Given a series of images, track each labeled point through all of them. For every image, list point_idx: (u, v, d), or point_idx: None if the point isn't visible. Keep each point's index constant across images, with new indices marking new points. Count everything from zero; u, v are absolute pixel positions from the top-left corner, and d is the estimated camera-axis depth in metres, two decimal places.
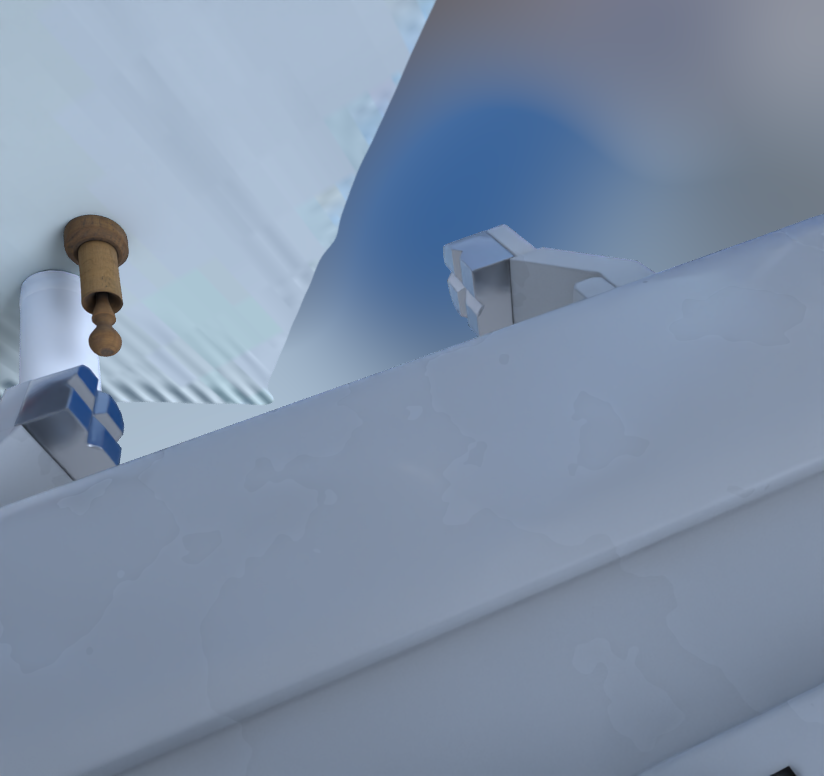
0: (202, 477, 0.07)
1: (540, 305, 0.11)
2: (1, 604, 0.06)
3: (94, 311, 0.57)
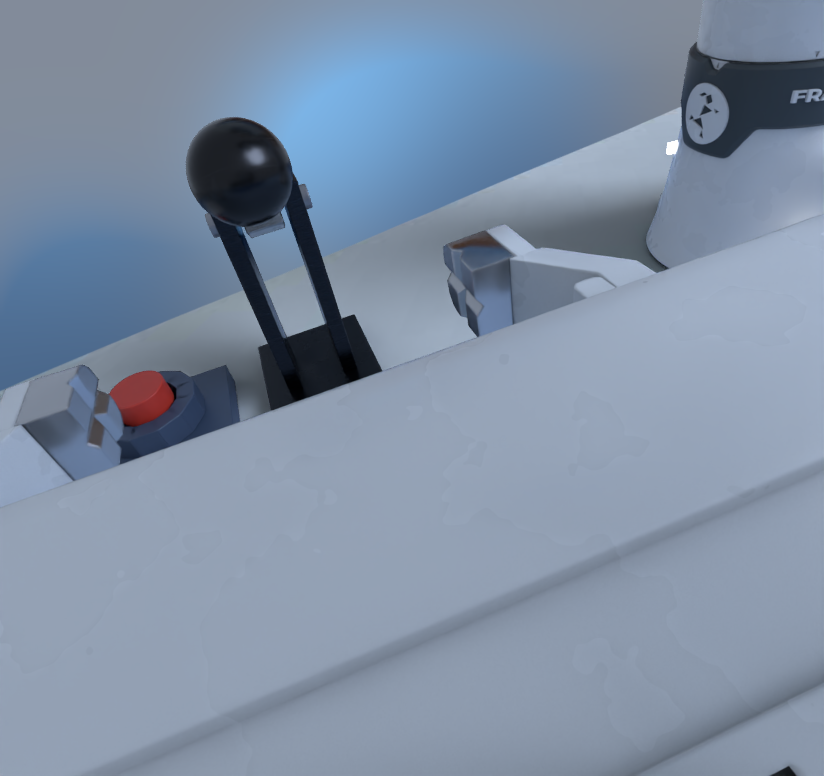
0: (202, 477, 0.07)
1: (540, 305, 0.11)
2: (1, 604, 0.06)
3: None
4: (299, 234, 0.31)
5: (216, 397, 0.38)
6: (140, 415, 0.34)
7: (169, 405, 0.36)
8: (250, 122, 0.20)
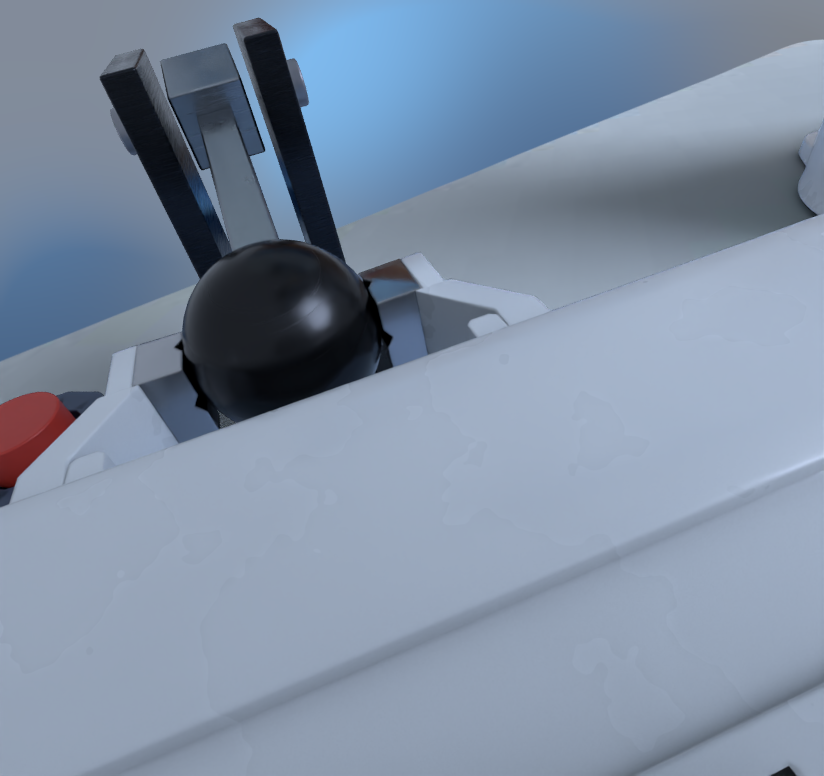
0: (202, 477, 0.07)
1: (448, 337, 0.11)
2: (1, 604, 0.06)
3: None
4: (283, 146, 0.17)
5: None
6: (14, 470, 0.20)
7: None
8: (329, 305, 0.10)
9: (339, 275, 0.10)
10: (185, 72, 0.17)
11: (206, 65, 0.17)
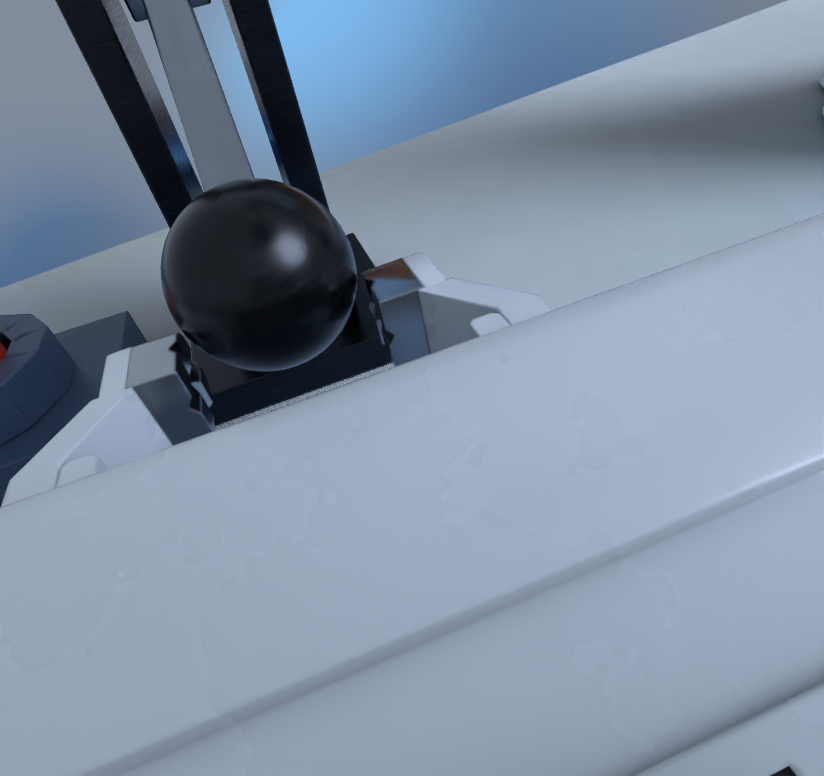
0: (202, 477, 0.07)
1: (450, 337, 0.11)
2: (1, 604, 0.06)
3: None
4: None
5: (95, 363, 0.21)
6: None
7: None
8: (313, 268, 0.10)
9: (321, 231, 0.10)
10: None
11: None
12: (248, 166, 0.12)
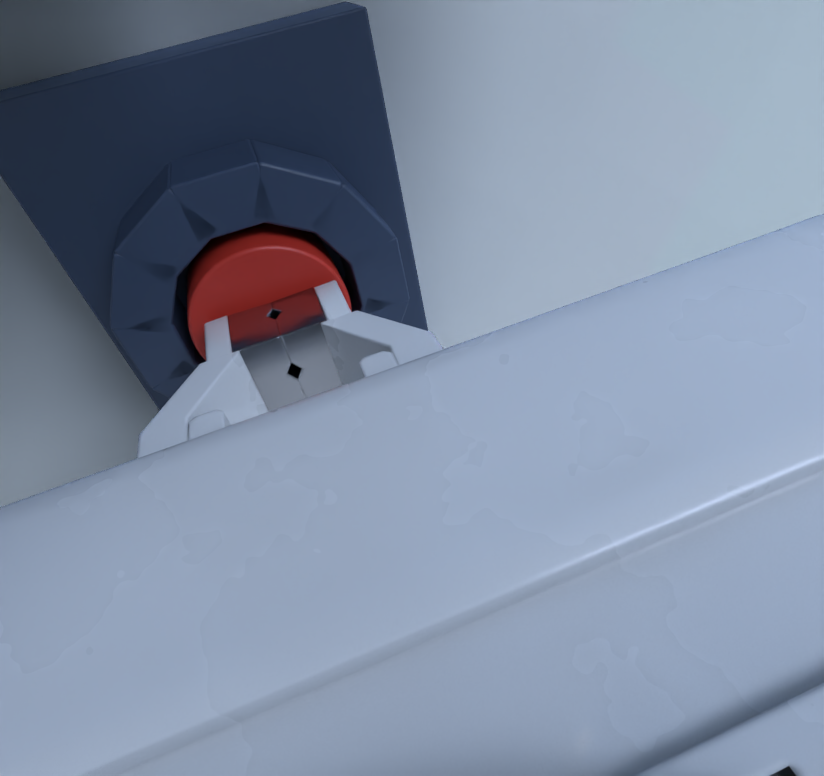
0: (202, 477, 0.07)
1: (356, 370, 0.11)
2: (1, 604, 0.06)
3: None
4: None
5: (172, 114, 0.11)
6: None
7: None
8: None
9: None
10: None
11: None
12: None
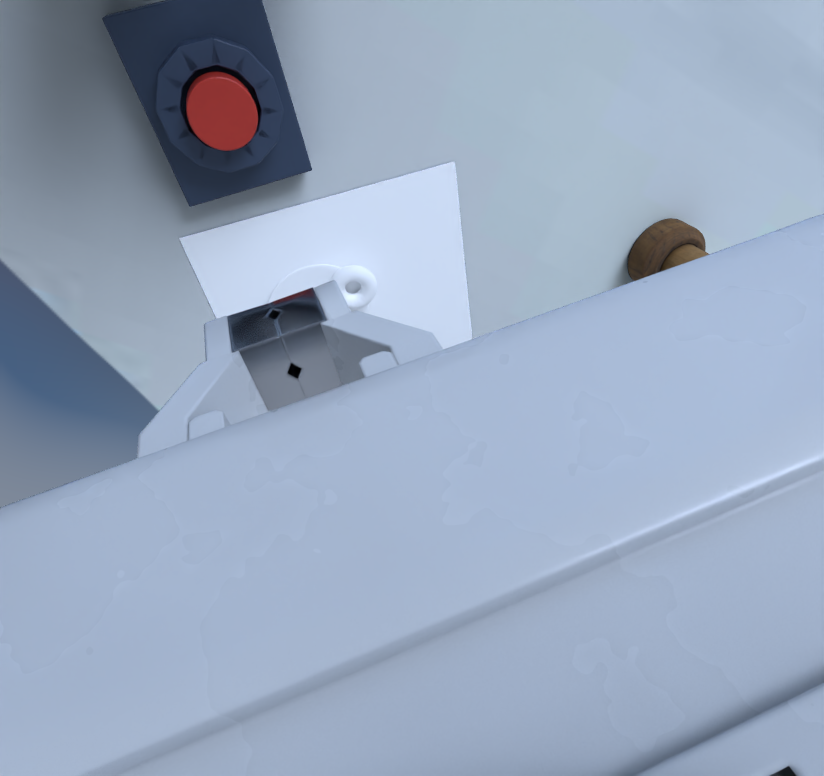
0: (202, 477, 0.07)
1: (355, 370, 0.11)
2: (1, 604, 0.06)
3: None
4: None
5: (180, 22, 0.28)
6: None
7: (226, 73, 0.29)
8: None
9: None
10: None
11: None
12: None
